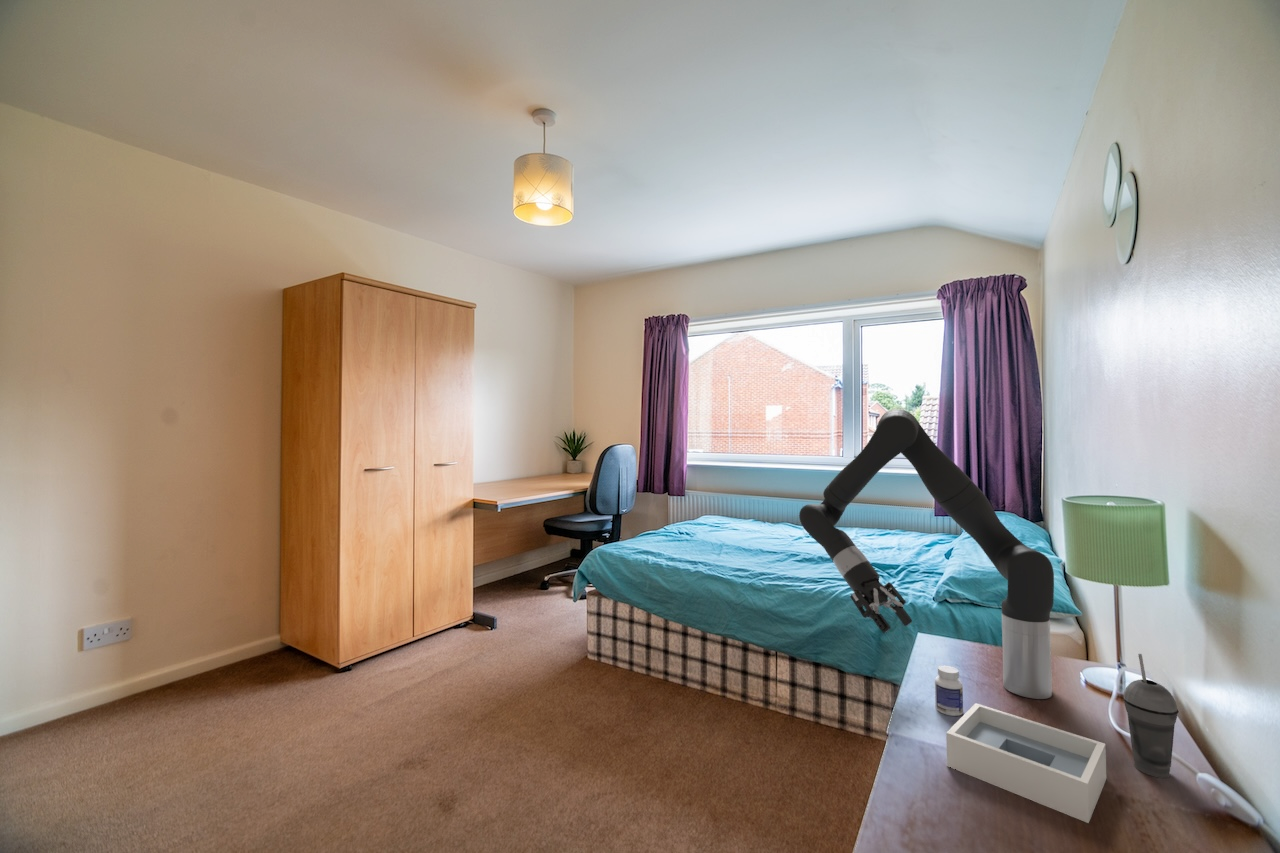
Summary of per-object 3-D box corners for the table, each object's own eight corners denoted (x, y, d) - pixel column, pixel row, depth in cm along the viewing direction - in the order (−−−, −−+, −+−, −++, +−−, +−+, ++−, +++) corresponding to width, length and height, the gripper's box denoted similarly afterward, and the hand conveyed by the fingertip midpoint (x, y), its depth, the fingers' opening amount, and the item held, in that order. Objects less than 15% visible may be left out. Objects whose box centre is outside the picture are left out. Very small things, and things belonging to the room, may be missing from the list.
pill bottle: (967, 717, 116) (966, 675, 116) (940, 715, 117) (939, 673, 117) (957, 705, 121) (956, 665, 121) (932, 703, 122) (931, 663, 122)
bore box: (976, 733, 110) (975, 703, 110) (1106, 778, 95) (1105, 743, 95) (947, 766, 99) (946, 732, 99) (1088, 823, 84) (1087, 783, 84)
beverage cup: (1169, 787, 92) (1166, 668, 93) (1116, 765, 99) (1113, 653, 99) (1188, 775, 96) (1184, 659, 96) (1135, 753, 102) (1132, 645, 102)
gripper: (846, 564, 133) (890, 625, 123) (882, 556, 140) (926, 613, 130) (828, 581, 137) (869, 641, 127) (864, 573, 145) (905, 629, 135)
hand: (898, 627), depth 129 cm, fingers open, 8 cm apart
